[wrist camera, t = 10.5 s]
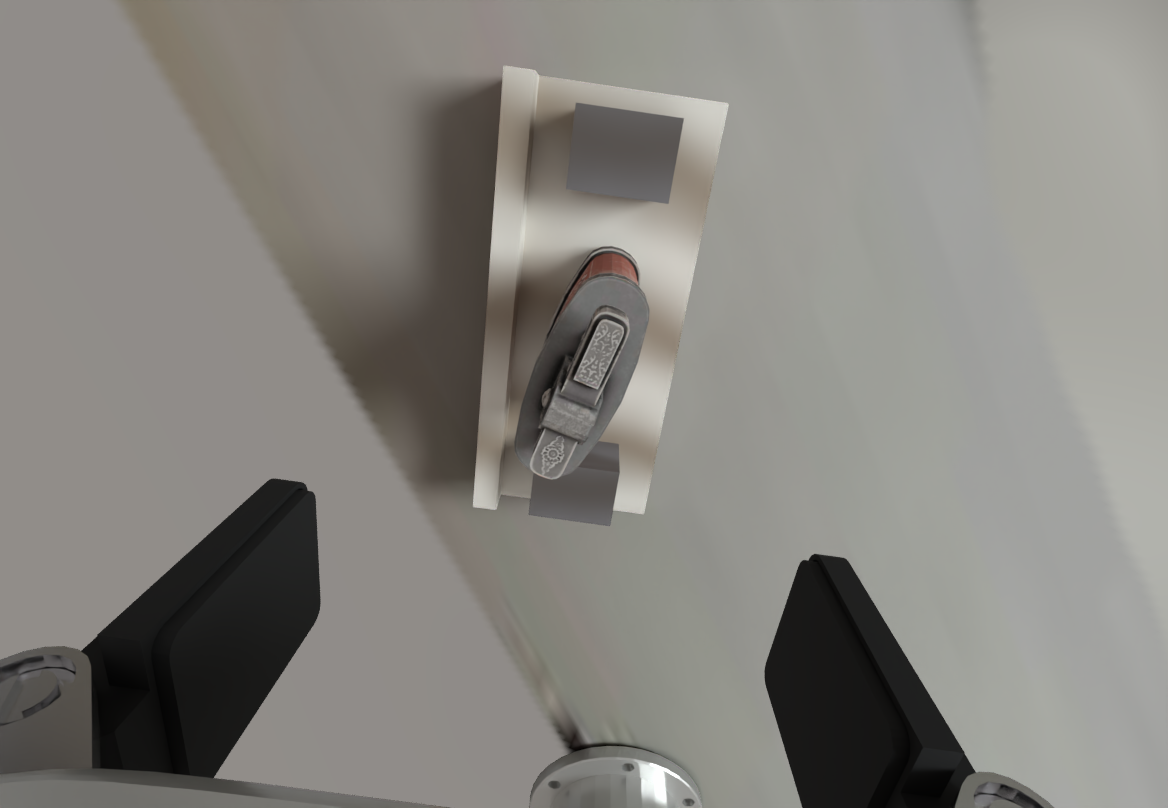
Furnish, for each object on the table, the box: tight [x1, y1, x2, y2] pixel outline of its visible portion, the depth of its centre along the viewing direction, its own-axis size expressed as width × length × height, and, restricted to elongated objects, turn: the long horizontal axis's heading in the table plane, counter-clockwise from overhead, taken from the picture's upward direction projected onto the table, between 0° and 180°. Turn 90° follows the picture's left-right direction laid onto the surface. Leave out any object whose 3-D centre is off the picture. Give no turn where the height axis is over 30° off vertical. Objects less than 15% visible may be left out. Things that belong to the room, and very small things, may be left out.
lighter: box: [514, 246, 650, 479], centre depth 23 cm, size 8×3×10 cm, turn 157°
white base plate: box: [473, 66, 729, 526], centre depth 27 cm, size 20×9×4 cm, turn 172°
